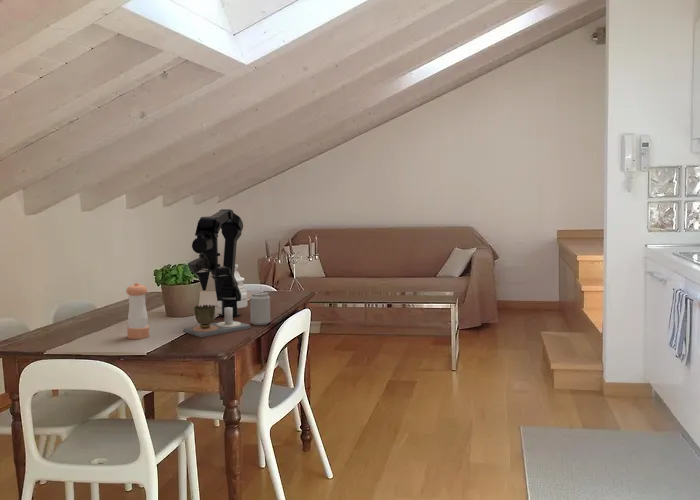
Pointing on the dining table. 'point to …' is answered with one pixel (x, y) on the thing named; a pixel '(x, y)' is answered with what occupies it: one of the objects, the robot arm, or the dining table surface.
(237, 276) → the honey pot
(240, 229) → the robot arm
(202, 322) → the decorative vase
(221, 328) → the board
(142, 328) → the pepper shaker
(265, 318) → the can
